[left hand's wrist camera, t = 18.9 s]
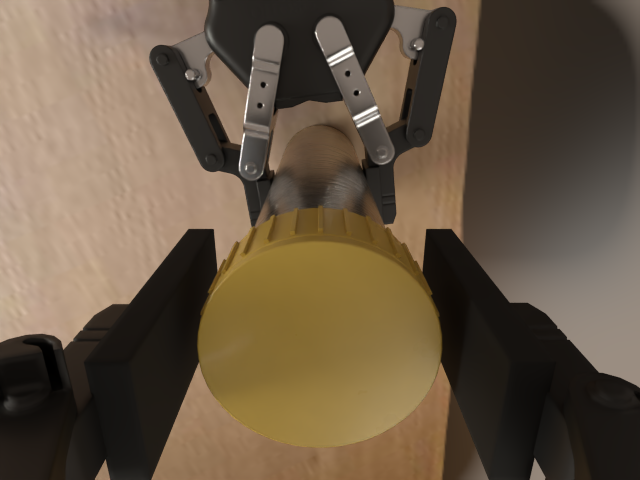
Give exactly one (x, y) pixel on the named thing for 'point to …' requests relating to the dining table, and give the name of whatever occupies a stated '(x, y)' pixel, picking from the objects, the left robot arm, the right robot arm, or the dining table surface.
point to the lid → (319, 330)
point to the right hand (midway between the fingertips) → (326, 235)
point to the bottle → (319, 177)
